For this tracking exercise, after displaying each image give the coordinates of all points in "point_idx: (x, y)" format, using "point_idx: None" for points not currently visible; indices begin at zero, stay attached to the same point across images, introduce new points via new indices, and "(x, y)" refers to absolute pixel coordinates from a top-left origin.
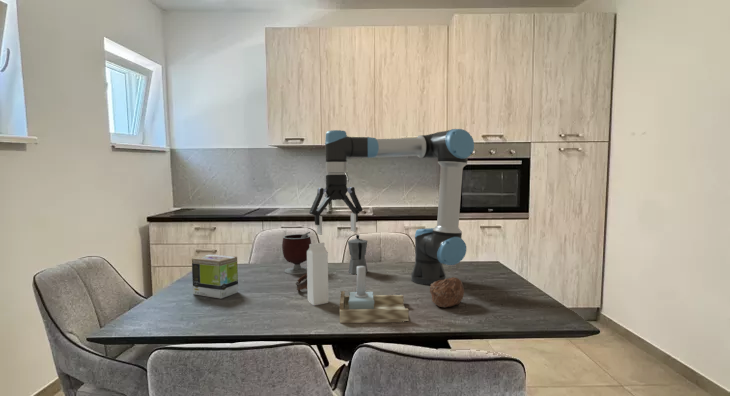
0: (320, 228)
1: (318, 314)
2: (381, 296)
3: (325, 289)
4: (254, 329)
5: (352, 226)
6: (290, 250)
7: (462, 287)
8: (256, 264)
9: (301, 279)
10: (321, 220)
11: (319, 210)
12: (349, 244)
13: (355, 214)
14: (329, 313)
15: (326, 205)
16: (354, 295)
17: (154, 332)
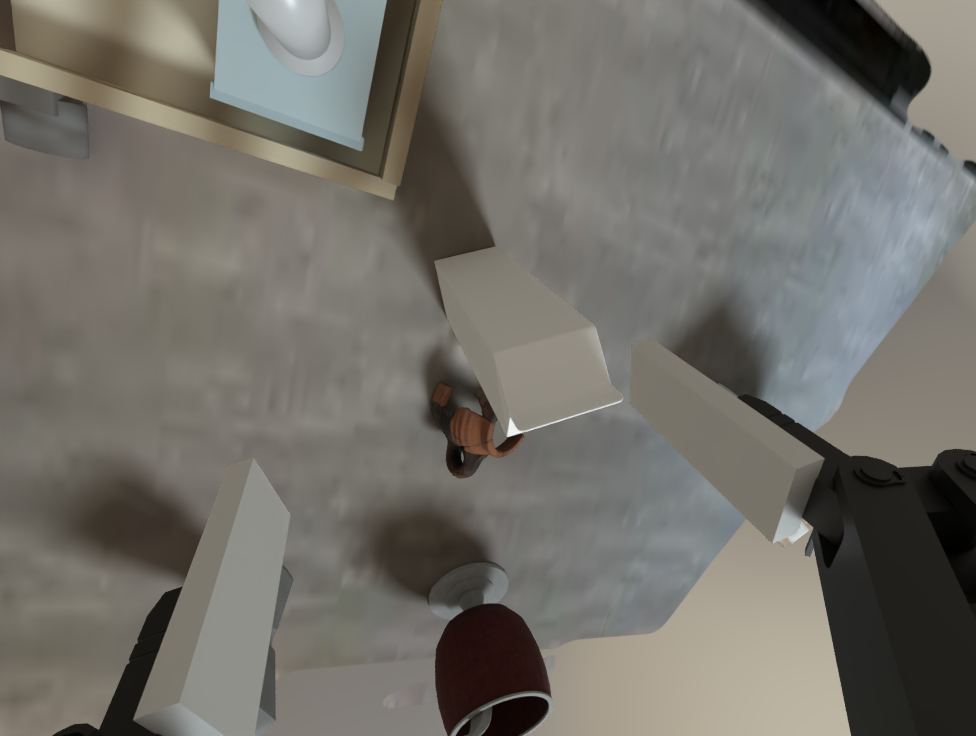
0: (690, 367)
1: (501, 133)
2: (160, 103)
3: (458, 273)
4: (733, 66)
5: (263, 530)
6: (521, 640)
7: None
8: (561, 636)
9: (509, 441)
10: (749, 427)
11: (934, 535)
12: (269, 701)
13: (149, 701)
14: (456, 126)
15: (915, 695)
16: (343, 61)
17: (914, 170)
